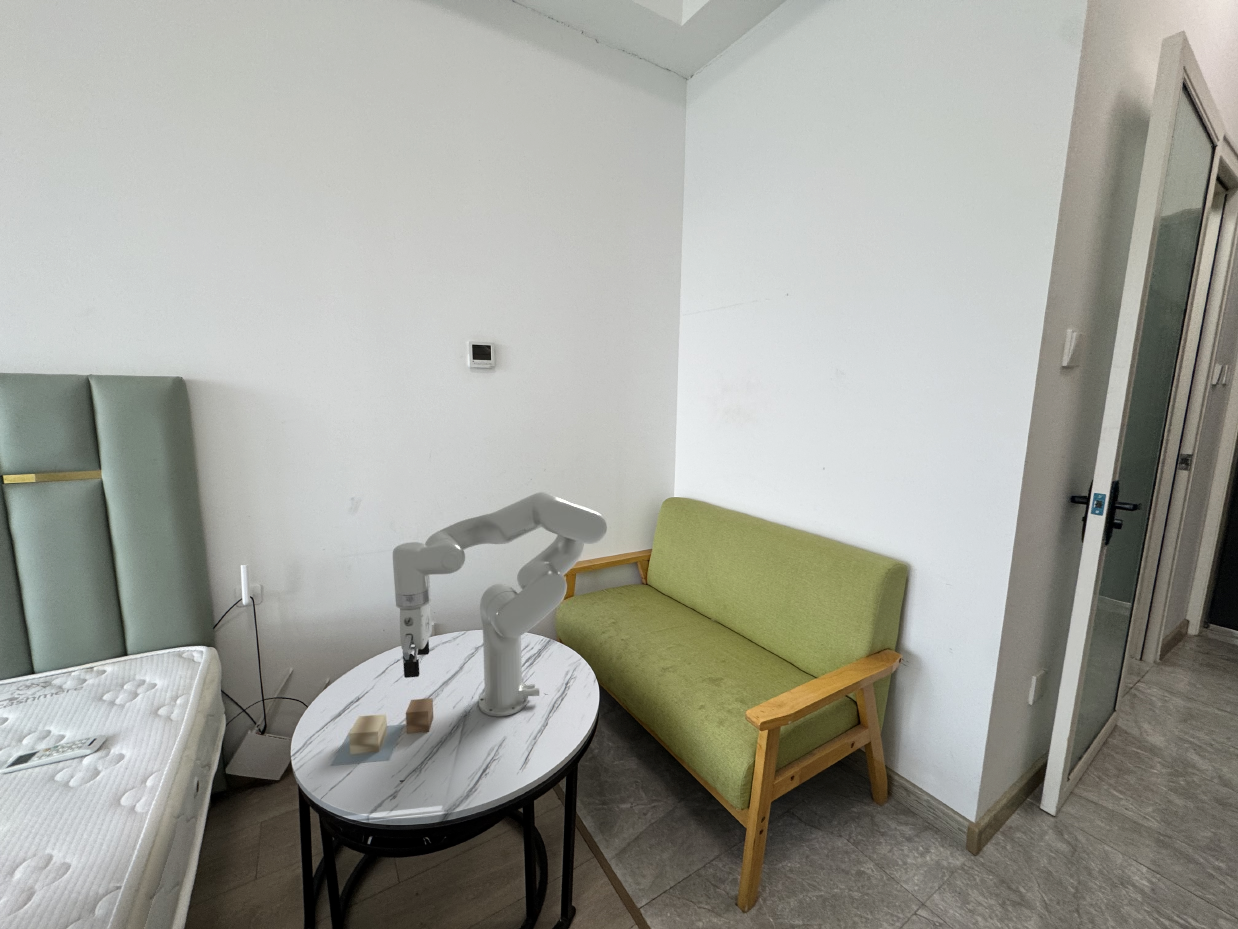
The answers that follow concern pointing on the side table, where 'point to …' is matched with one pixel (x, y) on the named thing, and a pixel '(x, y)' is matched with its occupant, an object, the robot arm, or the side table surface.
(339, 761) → the build plate
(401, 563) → the robot arm
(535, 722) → the side table surface
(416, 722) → the walnut block
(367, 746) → the beech block
